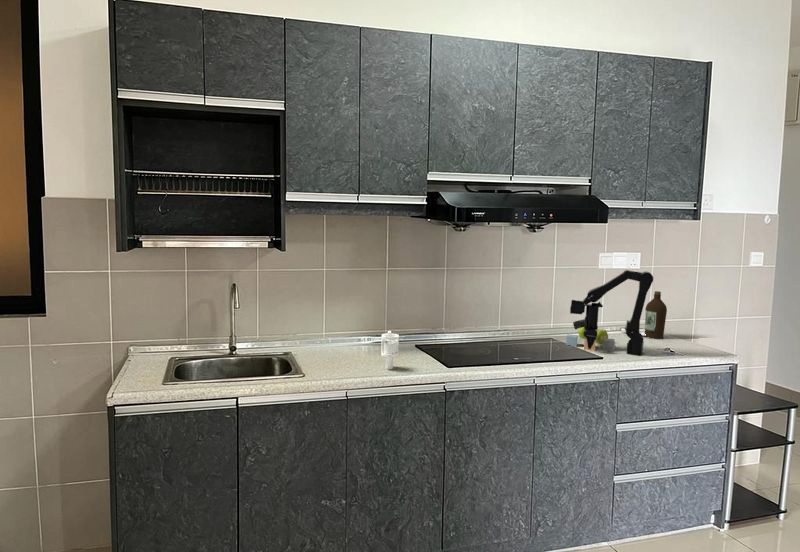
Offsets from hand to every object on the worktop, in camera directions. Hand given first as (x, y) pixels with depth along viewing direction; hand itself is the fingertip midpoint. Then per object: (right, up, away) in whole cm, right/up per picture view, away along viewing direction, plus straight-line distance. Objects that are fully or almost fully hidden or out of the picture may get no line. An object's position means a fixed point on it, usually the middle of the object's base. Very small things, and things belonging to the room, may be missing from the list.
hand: (589, 346), depth 292 cm
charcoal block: (+9, -1, 0) cm, 9 cm away
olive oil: (+45, +1, +32) cm, 55 cm away
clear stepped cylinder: (-97, -4, -45) cm, 107 cm away
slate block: (-7, 0, +7) cm, 10 cm away
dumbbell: (+8, +1, +19) cm, 21 cm away
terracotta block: (0, -1, 0) cm, 1 cm away
